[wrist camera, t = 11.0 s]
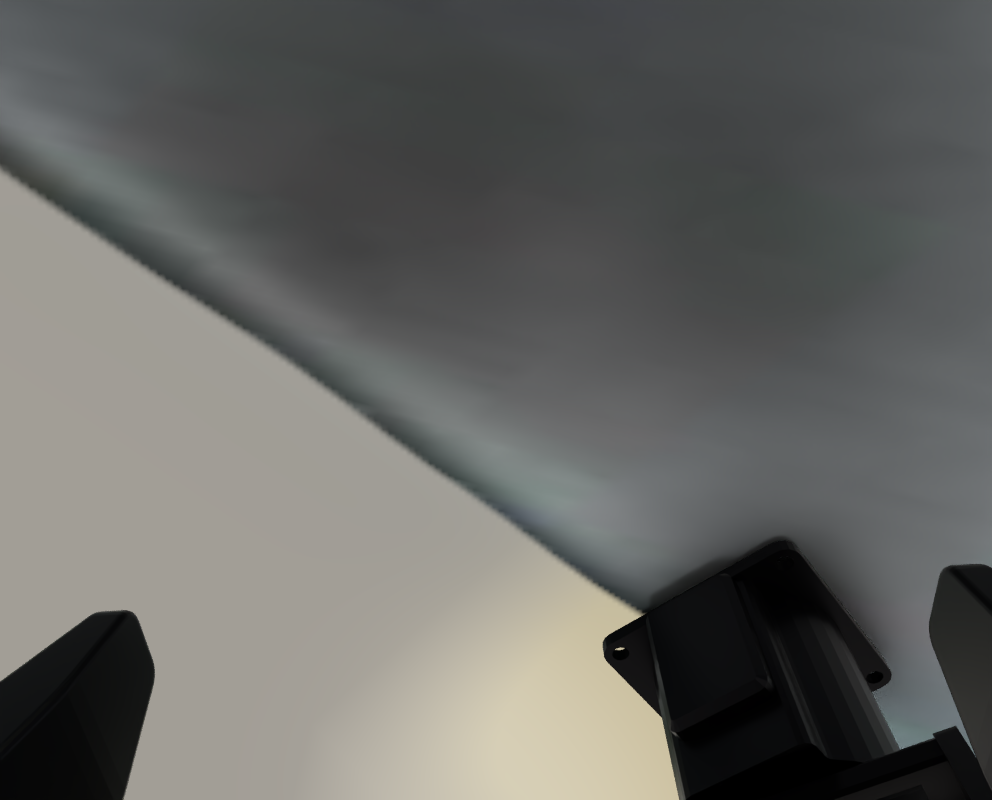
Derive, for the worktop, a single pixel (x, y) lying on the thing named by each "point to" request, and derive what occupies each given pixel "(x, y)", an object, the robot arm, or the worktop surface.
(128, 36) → the worktop surface
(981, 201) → the worktop surface
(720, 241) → the worktop surface
